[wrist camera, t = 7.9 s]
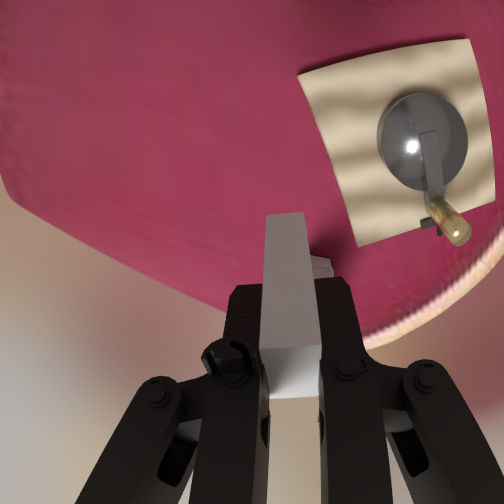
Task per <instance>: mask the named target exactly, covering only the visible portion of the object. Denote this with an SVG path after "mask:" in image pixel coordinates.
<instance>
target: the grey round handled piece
mask: <svg viewBox="0 0 504 504" xmlns="http://www.w3.org/2000/svg"><path fill="white" fill-rule="evenodd" d="M377 147H378V151H379V155H380V157H381V159H382V162H383V163H384V165H385V167H386V168H387V169H388V170H389V171H390V172H391V173H392V175H393V176H394V177H395V178H396V179H397V180H398V181H399V182H401V183H402V184H403V185H405V186H407V187H409V188H411V189H414V190H418V191H424V199H425V209H426V212H427V214H428V215H429V216H430V217H431V218H432V219H433V220H434V221H435V223H436V224H437V235H438V236H441V235H442V231H443V232H444V234H445V235H446V236H447V237H448V239H449V240H450V241H451V242H452V244H453V245H455V246H461V245H463V244H465V243H466V242H467V241H468V240H469V238H470V236H471V231H472V230H471V226H470V225H469V224H468V223H467V222H466V221H465V220H464V219H463V217H462V216H461V215H460V214H459V213H458V212H457V211H456V210H455V209H454V208H453V207H452V206H451V205H450V204H449V203H448V202H447V201H446V200H445V194H444V186H445V185H447V184H448V183H449V182H451V181H452V180H453V179H454V178H455V177H456V175H457V174H458V173H459V171H460V170H461V168H462V166H463V164H464V162H465V159H466V155H467V150H468V134H467V129H466V126H465V123H464V121H463V119H462V117H461V115H460V113H459V112H458V111H457V109H456V108H455V107H454V106H453V105H452V104H451V103H449V102H448V101H447V100H445V99H443V98H441V97H438V96H436V95H432V94H428V93H423V92H412V93H407V94H404V95H402V96H400V97H398V98H396V99H395V100H394V101H393V102H391V103H390V104H389V106H388V107H387V108H386V109H385V111H384V112H383V114H382V116H381V118H380V121H379V124H378V129H377Z"/></svg>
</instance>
